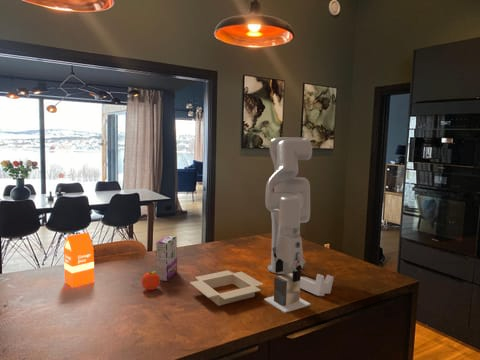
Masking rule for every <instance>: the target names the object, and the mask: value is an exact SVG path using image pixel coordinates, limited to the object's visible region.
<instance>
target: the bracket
mask: <svg viewBox="0 0 480 360" xmlns="http://www.w3.org/2000/svg"><path fill="white" fill-rule="evenodd" d="M334 278H335V277H334V276H333V275H330V274H326V276H324V275H322V274H321V273H320V274H319V273H316V278H315V279H313V278H309V277H308V276H301V277H300V289H302V290H304V291H306V292H308V293H311V294H313V295H314V296H318V297H324V296H325V295H326V294H331V291H332V287H333V283H334Z"/></svg>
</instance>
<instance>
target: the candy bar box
mask: <svg viewBox="0 0 480 360" xmlns="http://www.w3.org/2000/svg"><path fill="white" fill-rule="evenodd" d="M177 242H178V241H177V236H175V235H166V236H164V237H163V238H161V239H160V240H157V242H156V243H155V245H156V247H155V248H156V249H155V250H156V273H157V274H158V275H159V277H160V282H161V281H162V282H169V280H170V279H171V278H173V276H174V275H175V274H177V272H178V255H177V254H178V252H177V251H178V250H177V245H178V244H177ZM158 272H159V273H158ZM160 274H161V275H160Z"/></svg>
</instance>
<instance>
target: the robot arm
mask: <svg viewBox="0 0 480 360" xmlns="http://www.w3.org/2000/svg"><path fill="white" fill-rule="evenodd" d="M312 145H313V144H312V143H311V141H310V139H308V137H294V136H293V137H292V136H291V137H289V136H288V137H287V136H279V137H274V138H272V139H271V140H270V141H269V154H270V157H271V161H272V163H273V166H274V167H273V168H274V172H273V174H272V175H271V176H270V177H269V179H268V180H267V181H266V185H265V196H264V197H265V198H264V199H265V200H264V201H265V208H266V209H267V210H268V211H269V212H270V215H271V255H270V256H271V257H270V258H271V259H270V260H271V261H270V264H268V265H267V270H268V272H271V273H274V274H276V275H285V274H290V273H292V274H293V279H292V281H293V282H296V281H300V277H302V275H301V273H302V272H301V271H303V269H304V268H305V265H306V263H307V262H306V260H305V259H304V256H303V254H304V253H303V241H302V236H301V224H302V223H303V224H304V223H307V222H309V220H310V217H311V185H310V180H308V179H307V178H306V177H300V176H298V174H299V163H298V161H308V160H310V159H311V158H312V156H313V146H312ZM297 176H298V177H297Z"/></svg>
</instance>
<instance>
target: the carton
mask: <svg viewBox="0 0 480 360" xmlns="http://www.w3.org/2000/svg"><path fill="white" fill-rule="evenodd" d="M194 278H195V281H194V280H193V281H189V284H190V285H191V286H193V287H194V288H195V289H197V290H198V291H199V292H200V293H202V294H203V295H204V296H205V297H207V299H209V300H211V301H212V303H214V304H215V305H217V306H223V305H227V304H230V303H235V302H239V301H242V300H246V299H249V298H254V297H255V296H256V295H255V294H256V293H258V292H261V291H262V289H260V288H259V287H260V286H264V283H262V282H261V281H259V280H257V279H255V278H254V277H252V276H250V275H248V274H246V273H245V272H243V271H238V272H233V271H230V270H223V271H217V272H214V273H212V272H211V273H208V274H203V275H199V276H194ZM228 285H234V286H235V287H237V289H234V290H228V291H226V292H225V291H224V292H221V293H220V292H218V291H216V290H215V289H216V288H219V287H224V286H228ZM214 288H215V289H214Z"/></svg>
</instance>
